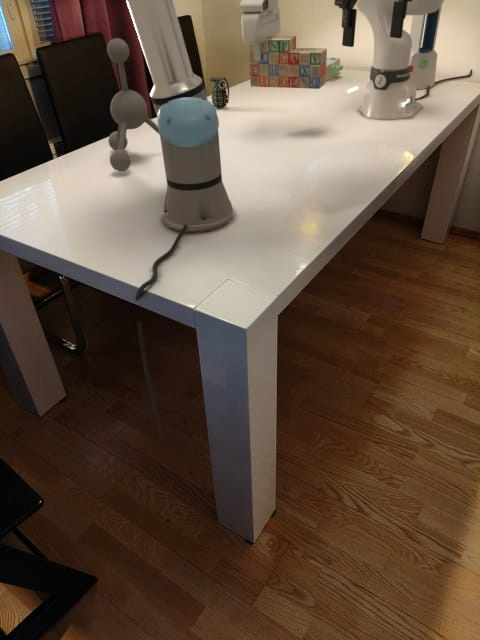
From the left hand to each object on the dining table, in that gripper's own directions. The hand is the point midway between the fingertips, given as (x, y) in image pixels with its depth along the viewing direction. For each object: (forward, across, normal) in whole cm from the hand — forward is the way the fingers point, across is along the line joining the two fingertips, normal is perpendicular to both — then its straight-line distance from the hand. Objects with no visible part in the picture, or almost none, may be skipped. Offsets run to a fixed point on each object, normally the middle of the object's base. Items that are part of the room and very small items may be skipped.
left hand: (372, 41), depth 103 cm
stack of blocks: (+16, -7, -40) cm, 43 cm away
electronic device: (+29, -77, -53) cm, 98 cm away
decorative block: (+29, -59, -92) cm, 113 cm away
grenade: (+29, -6, -78) cm, 84 cm away
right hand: (+9, -2, -46) cm, 46 cm away
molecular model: (+29, +37, -48) cm, 67 cm away
